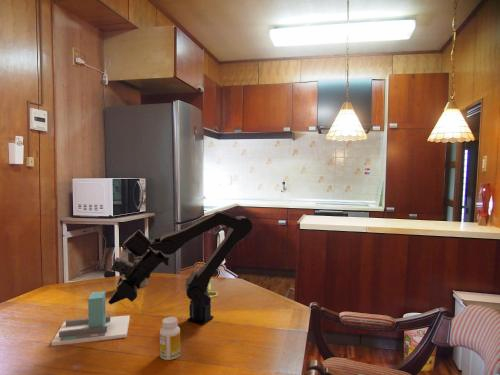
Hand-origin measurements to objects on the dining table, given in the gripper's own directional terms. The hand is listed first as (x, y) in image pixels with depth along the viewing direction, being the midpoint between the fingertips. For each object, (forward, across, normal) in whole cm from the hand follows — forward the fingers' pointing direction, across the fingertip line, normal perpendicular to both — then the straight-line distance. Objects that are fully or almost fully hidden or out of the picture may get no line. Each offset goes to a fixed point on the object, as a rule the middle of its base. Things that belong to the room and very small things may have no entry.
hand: (109, 303), depth 108 cm
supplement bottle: (-7, +20, +19) cm, 28 cm away
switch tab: (+8, 0, +3) cm, 8 cm away
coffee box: (+2, -40, +10) cm, 41 cm away
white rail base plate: (+9, 0, +3) cm, 9 cm away
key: (-18, -25, +31) cm, 44 cm away
